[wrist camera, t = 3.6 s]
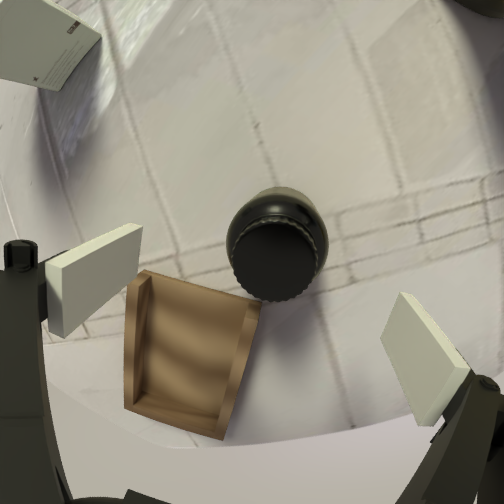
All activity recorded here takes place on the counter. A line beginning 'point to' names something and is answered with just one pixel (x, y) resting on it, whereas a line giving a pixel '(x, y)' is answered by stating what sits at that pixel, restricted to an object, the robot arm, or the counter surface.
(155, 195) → the counter surface
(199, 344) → the u rest
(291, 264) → the supplement bottle
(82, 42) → the skincare box
